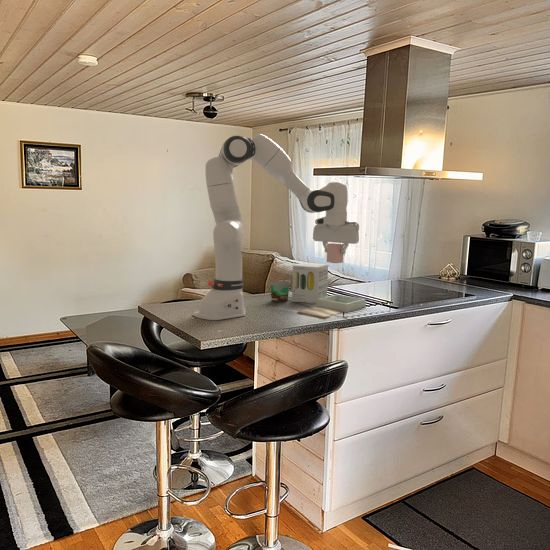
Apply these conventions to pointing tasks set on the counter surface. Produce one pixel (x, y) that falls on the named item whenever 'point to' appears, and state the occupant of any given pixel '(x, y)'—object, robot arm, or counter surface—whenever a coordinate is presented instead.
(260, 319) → the counter surface
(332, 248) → the block
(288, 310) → the counter surface
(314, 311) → the pad
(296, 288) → the supplement box
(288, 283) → the food container
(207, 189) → the robot arm
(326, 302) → the bin
